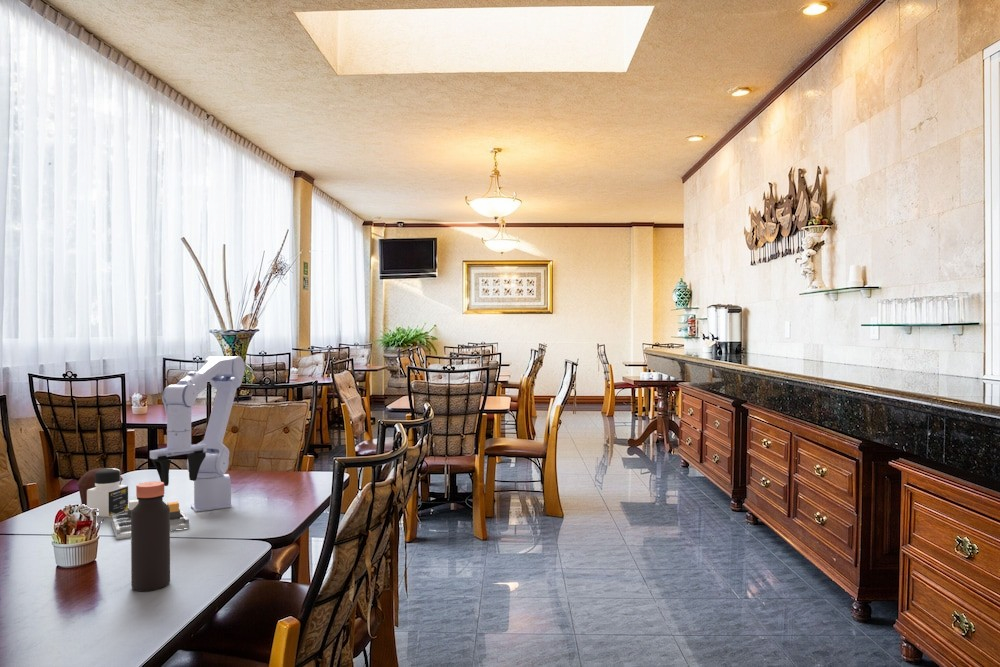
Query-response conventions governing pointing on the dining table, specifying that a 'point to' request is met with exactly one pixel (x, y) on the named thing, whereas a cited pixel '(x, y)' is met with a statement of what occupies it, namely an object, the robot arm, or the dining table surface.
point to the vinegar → (150, 538)
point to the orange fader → (174, 510)
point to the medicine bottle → (108, 493)
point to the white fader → (131, 507)
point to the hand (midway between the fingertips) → (179, 482)
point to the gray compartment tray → (124, 524)
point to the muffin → (88, 483)
